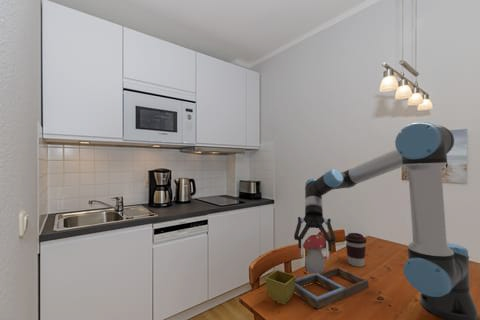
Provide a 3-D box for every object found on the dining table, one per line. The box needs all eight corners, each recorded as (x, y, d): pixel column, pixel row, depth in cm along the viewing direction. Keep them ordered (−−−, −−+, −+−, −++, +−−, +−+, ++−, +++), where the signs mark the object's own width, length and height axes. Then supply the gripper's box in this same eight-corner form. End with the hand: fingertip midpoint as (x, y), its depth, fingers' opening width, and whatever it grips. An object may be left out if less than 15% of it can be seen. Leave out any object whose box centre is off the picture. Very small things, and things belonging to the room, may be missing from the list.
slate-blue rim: (345, 289, 92) (345, 288, 92) (317, 301, 85) (317, 299, 85) (316, 273, 105) (316, 272, 105) (289, 282, 98) (289, 281, 98)
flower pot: (277, 291, 97) (276, 269, 97) (297, 298, 92) (296, 275, 92) (265, 301, 90) (265, 277, 91) (286, 310, 85) (285, 284, 85)
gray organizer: (368, 287, 98) (368, 280, 99) (317, 309, 85) (317, 300, 85) (338, 273, 112) (337, 267, 112) (289, 289, 98) (289, 282, 98)
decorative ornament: (324, 266, 99) (323, 230, 99) (329, 273, 92) (328, 235, 92) (301, 266, 99) (300, 230, 99) (305, 273, 92) (304, 235, 93)
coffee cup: (371, 268, 117) (370, 237, 117) (350, 268, 117) (349, 237, 117) (361, 259, 127) (360, 231, 127) (342, 260, 127) (341, 231, 127)
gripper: (338, 214, 107) (344, 264, 92) (290, 212, 114) (287, 258, 98) (339, 204, 102) (345, 255, 87) (288, 202, 109) (285, 250, 93)
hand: (314, 257), depth 93 cm, fingers closed on decorative ornament, 9 cm apart
